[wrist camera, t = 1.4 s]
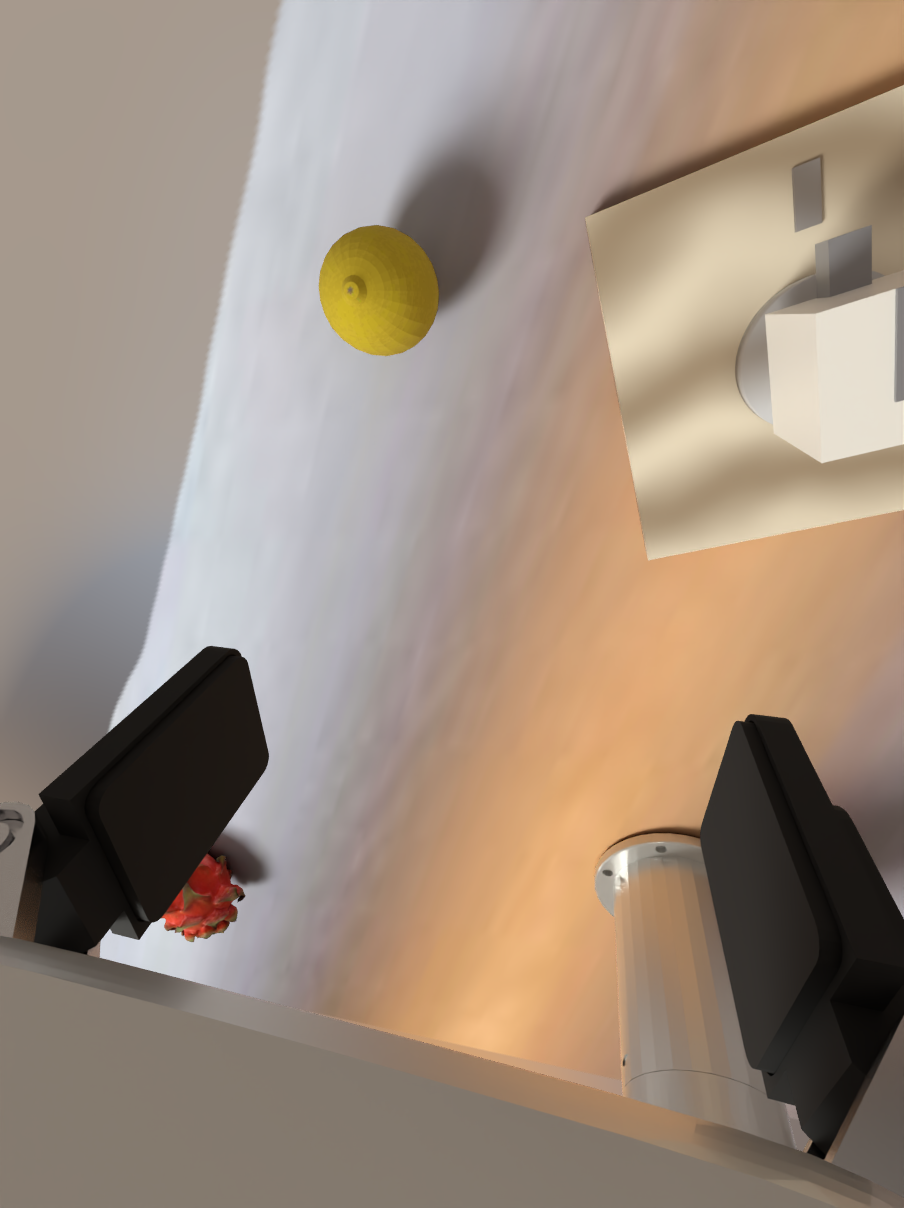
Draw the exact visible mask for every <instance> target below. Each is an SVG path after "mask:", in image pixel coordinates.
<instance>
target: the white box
mask: <svg viewBox="0 0 904 1208" xmlns="http://www.w3.org/2000/svg"><path fill="white" fill-rule="evenodd" d="M815 260H816V286H817V298H815V299H812V300H809V301H806V302H802V303H799V304H796V305H793V306H790V307H787V308H784V309H781V310H778V311H774V312H771V313H768V314H765V323H766V336H767V350H768V363H769V377H770V390H771V403H772V417H773V430H774V434H775V435H777V436H779V437H780V438H782V439H784V440H785V441H787V442H788V443H790V444H792V445H793V446H795V447H796V448H798V449H800V450H801V451H803V452H804V453H806V454H808V455H809V456H811V457H812V458H814V459H816V460H817V461H819V462H820V463H825V462H829V461H833V460H838V459H842V458H846V457H851V456H855V455H859V454H864V453H868V452H872V451H877V450H881V449H885V448H890V447H894V446H898V445H903V444H904V270H902V271H899V272H896V273H893V274H890V275H887V276H883V277H880V278H877V279H874V280H872V225H870V226H867V227H864V228H861V229H857V230H854V231H852V232H849V233H846V234H843V235H840V236H837V237H834V238H832V239H829V240H826V241H823V242H820V243H817V244H815Z"/></svg>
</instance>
